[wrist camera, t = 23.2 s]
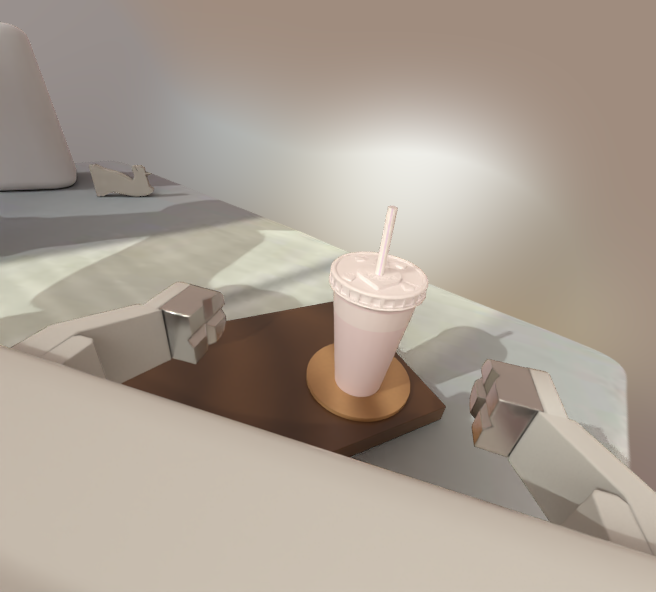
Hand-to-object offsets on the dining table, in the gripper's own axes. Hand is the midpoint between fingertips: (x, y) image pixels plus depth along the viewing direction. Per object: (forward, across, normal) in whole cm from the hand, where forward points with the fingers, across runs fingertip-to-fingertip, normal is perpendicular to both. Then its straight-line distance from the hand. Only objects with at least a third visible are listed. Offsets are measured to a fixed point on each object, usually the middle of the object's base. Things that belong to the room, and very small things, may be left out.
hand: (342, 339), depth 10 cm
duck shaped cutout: (+44, -52, -15) cm, 70 cm away
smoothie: (+11, 0, -13) cm, 17 cm away
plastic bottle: (+42, -73, -15) cm, 85 cm away
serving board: (+10, -6, -15) cm, 19 cm away
